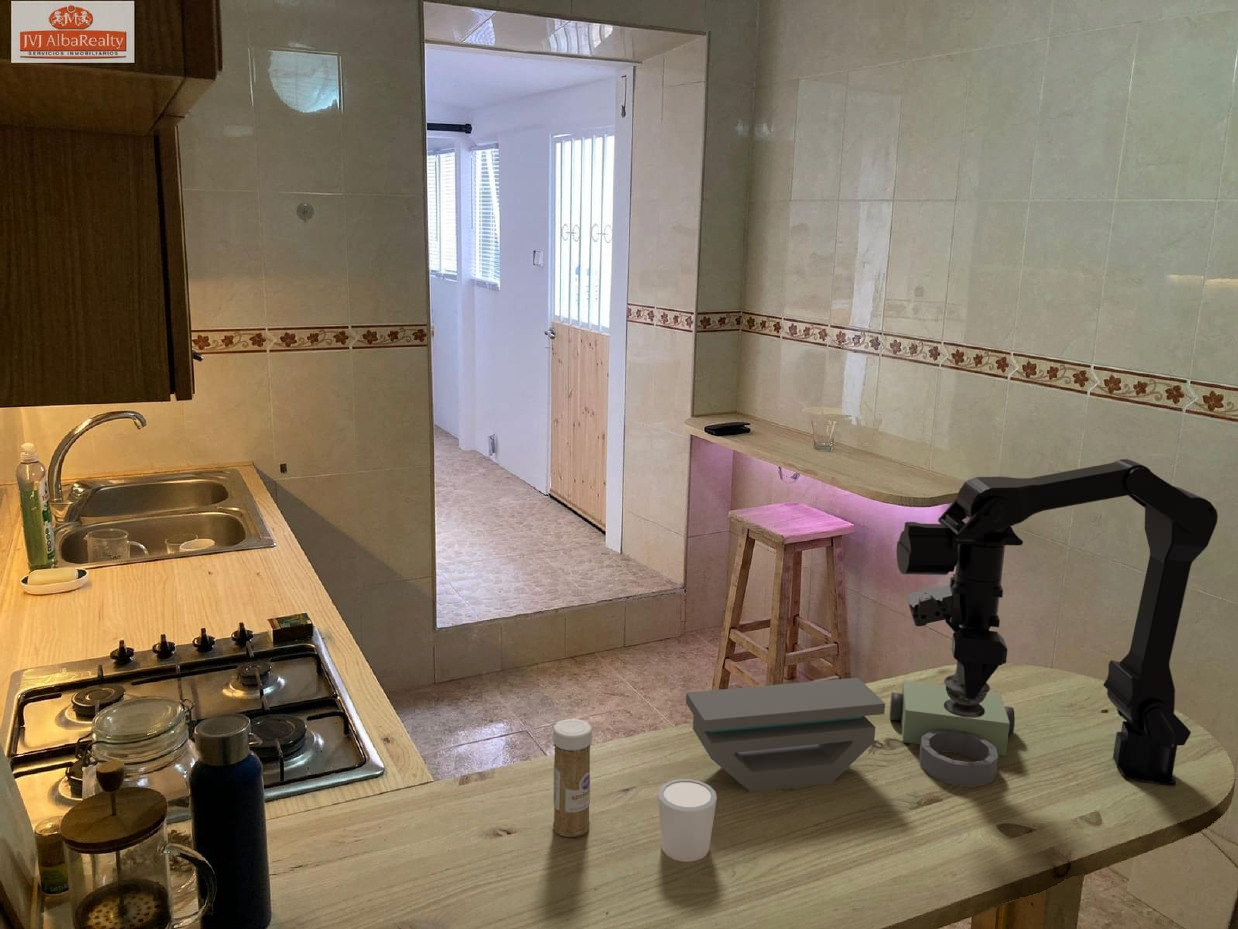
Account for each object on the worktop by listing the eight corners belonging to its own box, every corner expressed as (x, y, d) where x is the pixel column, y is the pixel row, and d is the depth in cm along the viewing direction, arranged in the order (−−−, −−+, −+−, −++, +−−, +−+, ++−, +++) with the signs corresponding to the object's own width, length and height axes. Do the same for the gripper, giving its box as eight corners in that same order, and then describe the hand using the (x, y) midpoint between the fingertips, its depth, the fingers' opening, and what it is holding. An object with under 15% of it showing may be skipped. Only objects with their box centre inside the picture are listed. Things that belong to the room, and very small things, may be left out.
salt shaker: (991, 721, 127) (1000, 636, 125) (945, 716, 128) (953, 632, 126) (982, 700, 133) (991, 619, 130) (938, 696, 134) (946, 615, 131)
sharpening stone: (852, 748, 137) (858, 677, 135) (878, 777, 130) (885, 703, 127) (683, 766, 131) (686, 692, 129) (700, 797, 124) (704, 720, 122)
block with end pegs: (1007, 724, 145) (1011, 693, 144) (1029, 795, 126) (1033, 760, 125) (889, 709, 149) (892, 679, 148) (893, 776, 130) (896, 742, 129)
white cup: (697, 872, 109) (699, 817, 108) (645, 852, 113) (647, 798, 111) (724, 842, 115) (726, 789, 113) (673, 823, 118) (675, 771, 117)
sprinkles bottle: (582, 842, 114) (584, 738, 111) (546, 834, 115) (547, 732, 112) (595, 821, 118) (597, 720, 115) (560, 813, 120) (561, 714, 117)
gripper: (911, 548, 137) (902, 650, 141) (918, 592, 119) (907, 708, 123) (994, 555, 135) (982, 659, 138) (1013, 602, 117) (1000, 719, 120)
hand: (966, 684), depth 130 cm, fingers closed on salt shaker, 8 cm apart
